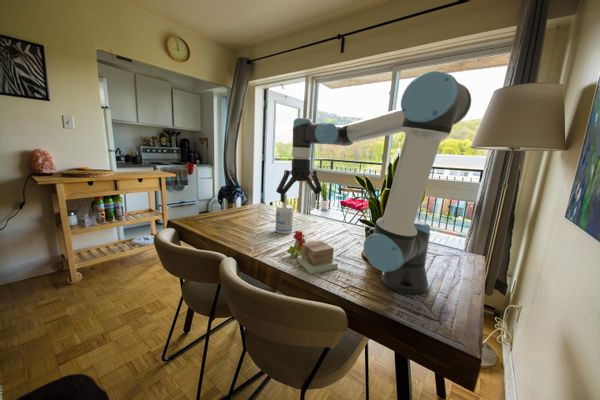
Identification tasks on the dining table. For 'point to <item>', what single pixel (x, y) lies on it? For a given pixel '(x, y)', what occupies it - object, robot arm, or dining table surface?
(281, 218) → the supplement tub
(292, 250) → the bird rattle
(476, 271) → the dining table surface
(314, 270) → the base plate
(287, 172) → the robot arm
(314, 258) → the walnut block
